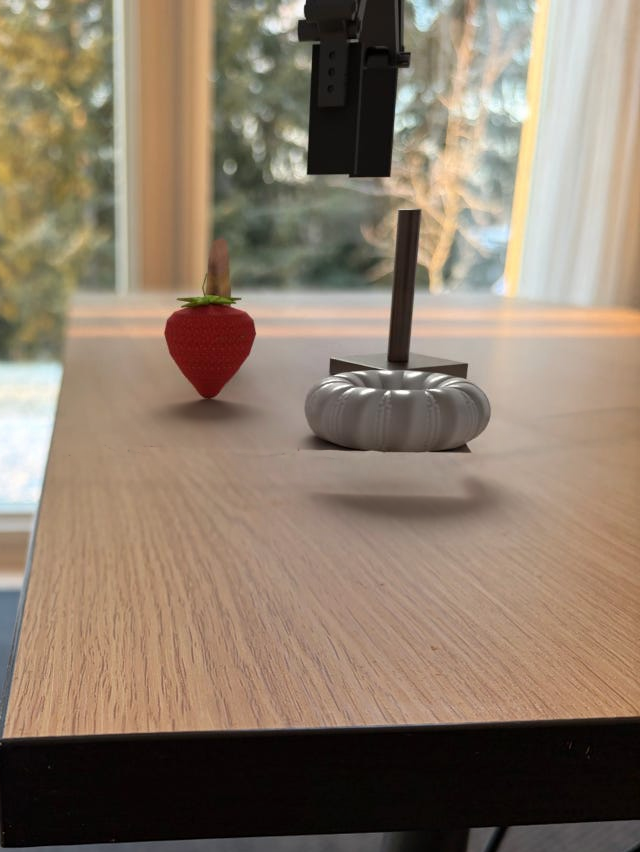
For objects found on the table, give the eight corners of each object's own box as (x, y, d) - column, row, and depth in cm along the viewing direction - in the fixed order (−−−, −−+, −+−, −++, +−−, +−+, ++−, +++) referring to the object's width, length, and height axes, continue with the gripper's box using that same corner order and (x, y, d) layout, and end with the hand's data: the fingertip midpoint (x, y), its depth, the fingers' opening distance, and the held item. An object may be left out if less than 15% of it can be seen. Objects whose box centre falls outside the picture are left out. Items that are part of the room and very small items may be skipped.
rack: (404, 367, 104) (417, 208, 98) (466, 380, 96) (485, 208, 91) (328, 373, 100) (337, 209, 95) (387, 387, 93) (401, 210, 87)
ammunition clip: (213, 362, 107) (214, 236, 103) (231, 363, 107) (234, 236, 102) (201, 379, 97) (203, 241, 93) (221, 380, 97) (224, 241, 93)
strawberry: (252, 406, 85) (256, 275, 81) (160, 404, 86) (159, 275, 82) (255, 393, 90) (259, 270, 87) (168, 392, 91) (168, 270, 87)
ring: (407, 415, 81) (412, 362, 80) (524, 446, 71) (532, 386, 69) (270, 430, 76) (272, 374, 75) (374, 466, 66) (379, 402, 64)
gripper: (348, -173, 69) (330, 178, 78) (251, -338, 48) (241, 174, 56) (466, -186, 67) (434, 177, 75) (420, -366, 45) (383, 172, 54)
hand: (352, 177), depth 66 cm, fingers open, 13 cm apart
